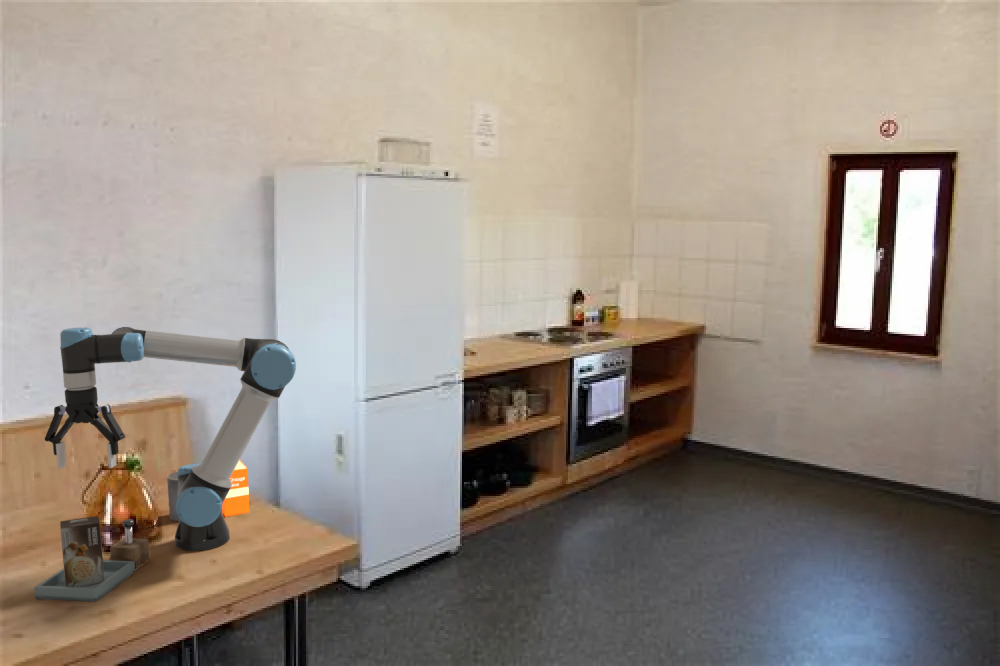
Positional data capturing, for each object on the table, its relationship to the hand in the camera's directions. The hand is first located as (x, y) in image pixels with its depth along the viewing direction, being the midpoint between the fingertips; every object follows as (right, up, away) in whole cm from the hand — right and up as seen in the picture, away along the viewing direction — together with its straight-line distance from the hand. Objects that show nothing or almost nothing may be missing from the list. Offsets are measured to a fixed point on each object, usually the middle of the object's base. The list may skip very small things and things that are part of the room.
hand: (87, 466), depth 224 cm
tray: (+2, -30, -5) cm, 30 cm away
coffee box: (+2, -29, -5) cm, 29 cm away
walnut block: (+8, -28, +8) cm, 30 cm away
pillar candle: (+9, -23, +46) cm, 52 cm away
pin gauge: (+8, -28, +8) cm, 30 cm away
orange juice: (+22, -23, +52) cm, 61 cm away
